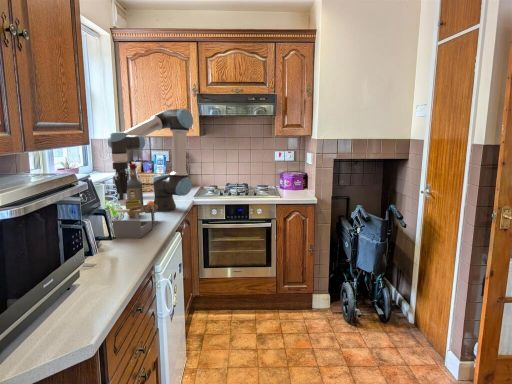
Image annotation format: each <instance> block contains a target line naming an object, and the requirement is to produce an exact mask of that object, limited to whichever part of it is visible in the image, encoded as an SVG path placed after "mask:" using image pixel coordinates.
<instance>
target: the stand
mask: <svg viewBox="0 0 512 384" xmlns="http://www.w3.org/2000/svg"><path fill="white" fill-rule="evenodd" d="M150 215H151V217H150V218H151V220H140V213H135V220H140V221H141V222H149V221H151V222H152V228H154V227H155V226H156V225H158V224H159V220H155V213H154V208H151V213H150Z"/></svg>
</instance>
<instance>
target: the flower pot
mask: <svg viewBox="0 0 512 384" xmlns="http://www.w3.org/2000/svg"><path fill="white" fill-rule="evenodd" d="M137 206H140V200H135V201H127V200H126V206H125V209H129V208H132V207H137ZM126 214H127V216H128V217H129V218H133V217H134V218H136V216H135V213H129V212H126Z"/></svg>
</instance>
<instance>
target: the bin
mask: <svg viewBox="0 0 512 384" xmlns="http://www.w3.org/2000/svg"><path fill="white" fill-rule="evenodd" d="M111 220H112V223H113V228H114V232H115V236H116V238H115V239H143V237H145V236H146V235H147V234H149V233H150V232H151V231H152V230H153V227H152V222H151V221H152V220H148V221H149V222H141V221H142V220H141V219H139V220H136V219H111Z"/></svg>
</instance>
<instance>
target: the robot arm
mask: <svg viewBox="0 0 512 384" xmlns="http://www.w3.org/2000/svg"><path fill="white" fill-rule="evenodd" d="M193 125H194V118H193V115H192V113H191V112H190V110H189V109H186V108H174V109H173V108H172V109H170V108H169V109H164V110H163V111H160V112H158V113H156V114H153V115H152V116H151V117H150V119H148V120H145V121H144V122H141V123H139V124H137V125H136V126H133V127H131V128H129V129H128V130H125V131H113V132H111V133H110V136H109V137H108V138H107V145H108V147H109V148H110V150H111V160H112V170H115V175H113V180H114V184H115V190H116V193H117V195H118V196H119V206H120V207H126V201H127V192H126V191H127V183H128V181H129V180H128V178H129V173H127V171H126V170H127V169H128V168H129V165H128V164H129V163H128V160H129V159H128V152H127V151H129V150H141V149H144V148H145V146H146V139H145V138H144V137H146V136H148V135H150V134H152V133H153V132H155V131H161V130H163V129H170V132H171V133H172V144H171V145H172V149H171V150H172V156H171V157H172V158H171V166H172V167H171V172H170V173H166V174H164V173H163V174H158V175H154V176H153V182H152V183H153V195H154V200H153V202H154V204H157V205H158V209H156V212H163V213H164V212H171V211H174V210H176V209H177V205H176V202H175V200H174V197H173V196H178V197H182V196H183V197H185V196H187V195H189V193H190V192H191V190H192V187H193V183H192V180H191V178H189V174H188V172H187V137H188V136H187V134H188V133H189V132H190V128H191V127H193ZM128 170H129V169H128Z"/></svg>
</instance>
